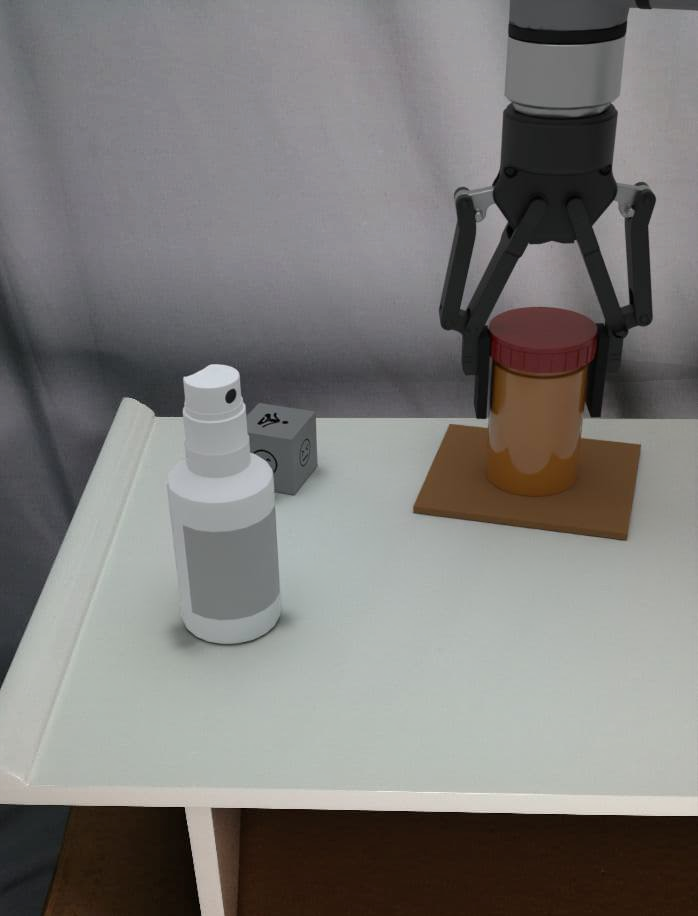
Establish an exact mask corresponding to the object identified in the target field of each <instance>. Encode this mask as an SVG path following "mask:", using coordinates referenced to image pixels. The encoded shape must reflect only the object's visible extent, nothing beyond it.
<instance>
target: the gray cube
mask: <svg viewBox="0 0 698 916" xmlns="http://www.w3.org/2000/svg"><path fill="white" fill-rule="evenodd" d="M246 420H247V434H248V435H249V443H250V453H253V454H256V455H257V456H259V457H260V458H262V459H264V460H265V461H266V462H267V463H268V464H269V466H270V467H271V469H272V471H273V477H274V493H279V494H286V495H287V494H288V495H291V496H295V495H296V494H297V492H298V491H299V490H300V488H302V486H303V485H304V484H305V482H306V481H307V480H308V478H309V477H310V476H311V475H312V474H313V472H314V471H315V470H316V469H317V467H318V466H319V465H318V443H317V441H318V440H317V439H318V438H317V412H316V411H314V410H307V409H302V408H296V407H295V408H294V407H288V406H282V405H275V404H269V403H262V402H259V403H257V404H256V406H255V407H254V408H253V409H252V410H251V411H250V412H249V413H247V414H246Z"/></svg>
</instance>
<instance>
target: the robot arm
mask: <svg viewBox="0 0 698 916" xmlns="http://www.w3.org/2000/svg"><path fill="white" fill-rule="evenodd" d="M630 9H640V10H652V9H656V10H657V9H659V10H678V11H698V0H509V10H508V11H509V13H508V24H507V25H508V27H507V45H506V46H507V47H506V60H505V61H506V62H505V63H506V64H505V79H504V97H505V98H506V99H507V100H508V101H509V104H507V106H506V107H505V109H503V111H502V124H501V125H502V126H501V142H500V143H501V144H500V163H499V169H498V171H497V172H498V173H497V175H496V177H495V178H494V180H493V182H492V184H491V185H489V186H484V187H480V188H475V189H469V188H468V187H467V186H460V187H457V188H456V189H455V191H454V193H453V200H454V208H455V214H456V225H455V229H454V234H453V239H452V244H451V248H450V254H449V258H448V263H447V268H446V272H445V277H444V283H443V287H442V292H441V296H440V302H439V306H438V316H439V324H440V327H441V329H443V330H444V331H446V332H447V331H448V332H449V331H455V332H457V333H460V334H461V357H460V358H461V360H460V362H461V368H462V369H461V370H462V371H463V374H464V376H474V388H473V389H474V391H473V407H474V412H475V419H476V420H487V418H488V417H487V416H488V415H487V414H488V400H489V398H488V397H489V380H490V379H489V377H490V362H491V360H490V358H491V357H490V344H491V339H490V334H489V331H488V328H489V324H488V325H487V322H488V320H489V318H490V316H491V314H492V312H493V310H494V308H495V306H496V304H497V302H498V301H499V299H500V296H501V294H502V292H503V290H504V288H505V287H506V285H507V283H508V280H509V279H510V277H511V275H512V273H513V271H514V269H515V267H516V266H517V263H518V261H519V260H520V259H521V258H522V257H523V255H524V253H525V251H526V250H527V248H528V245H542V244H546V243H549V242H554V243H558V244H564V245H565V244H566V245H567V244H569V245H570V244H575V241H576V243H577V247H578V248H579V249H578V250H579V251H580V254H581V258H582V260H583V263H584V265H585V267H586V270H587V274H588V277H589V279H590V282H591V285H592V288H593V290H594V293H595V296H596V299H597V302H598V304H599V307H600V310H601V313H602V315H603V318H604V322H594V323H595V324H596V326H597V329H598V332H597V336H598V339H597V348H596V353H595V356H594V359H593V360H592V361H591V362H589V369H588V378H587V388H586V397H585V406H586V408H587V412H588V414H589V416H590V417H589V418H602V412H603V411H602V409H603V401H604V393H605V382H606V374H617V373H618V371H619V370H620V368H621V363H622V354H623V347H624V339H625V338H626V337H627V336H628V335H629V330H630V329H634V328H636V327H641V328H642V327H643V328H645V327H648V326H649V325H651V324H652V322H653V320H654V315H653V293H652V292H653V291H652V274H651V272H652V271H651V252H650V251H651V250H650V231H649V226H650V222H651V218H652V215H653V213H654V209H655V207H656V203H657V196H656V194H655V193H654V192H653V190H652V189H651V187H650V186H649V185H648V183H647V182H644V181H638V182H636V183H635V184H628V183H620V182H617V181H616V178H615V176H614V173H613V172H614V171H613V165H614V164H613V163H614V154H615V145H616V136H617V135H616V134H617V128H618V127H617V125H618V117H619V111H618V110H617V108H616V107H615V105H614V104H613V103H614V102H615V101H616V100H617V99H618V98H619V97H620V96H621V89H622V78H623V67H624V57H625V48H626V47H625V46H626V39H627V38H626V36H627V32H628V31H627V30H628V17H629V13H630ZM614 201H615V202H617V209H618V211H619V213H620V215H621V216H622V217H623V218H624V238H625V239H624V241H625V256H626V268H627V269H626V271H627V286H628V289H627V291H628V304H626V305H624V306H620V302H619V300H618V297H617V294H616V292H615V287H614V286H613V283H612V280H611V277H610V273H609V271H608V269H607V266H606V263H605V260H604V257H603V254H602V251H601V248H600V244H599V242H598V238H597V235H596V233H595V230H594V227H593V226H594V225H595V224H596V222H597V221H598V220H599V219H600V217H601V216H602V215H603V214H604V213H605V212H606V211H607V209H608V208H609V207H610V205H611V204H612V203H613V202H614ZM494 204H495V206H496V207H497V209H498V210H499V211H500V213H501V214H502V216H503V217H504V218H505V220H506V221H507V223H506V225H505V226H504V229H503V231H502V233H501V235H500V240H499V241H498V244H497V246H496V248H495V250H494V253H493V254H492V256H491V258H490V261H489V262H488V265H487V266H486V268H485V270H484V272H483V274H482V276H481V279H480V280H479V283H478V284H477V287H475V288H476V289H475V290H474V293H473V295H472V297H471V298H470V301H469V302H468V305H467V306H466V308H465V309H462V307H461V306H462V302H463V298H464V294H465V293H464V292H465V289H466V283H467V279H468V274H469V270H470V265H471V260H472V255H473V251H474V247H475V242H476V236H477V223H481V222H482V221H483V220H485V218H486V217H487V211H488V209H489V207H490V206H493V205H494Z"/></svg>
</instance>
